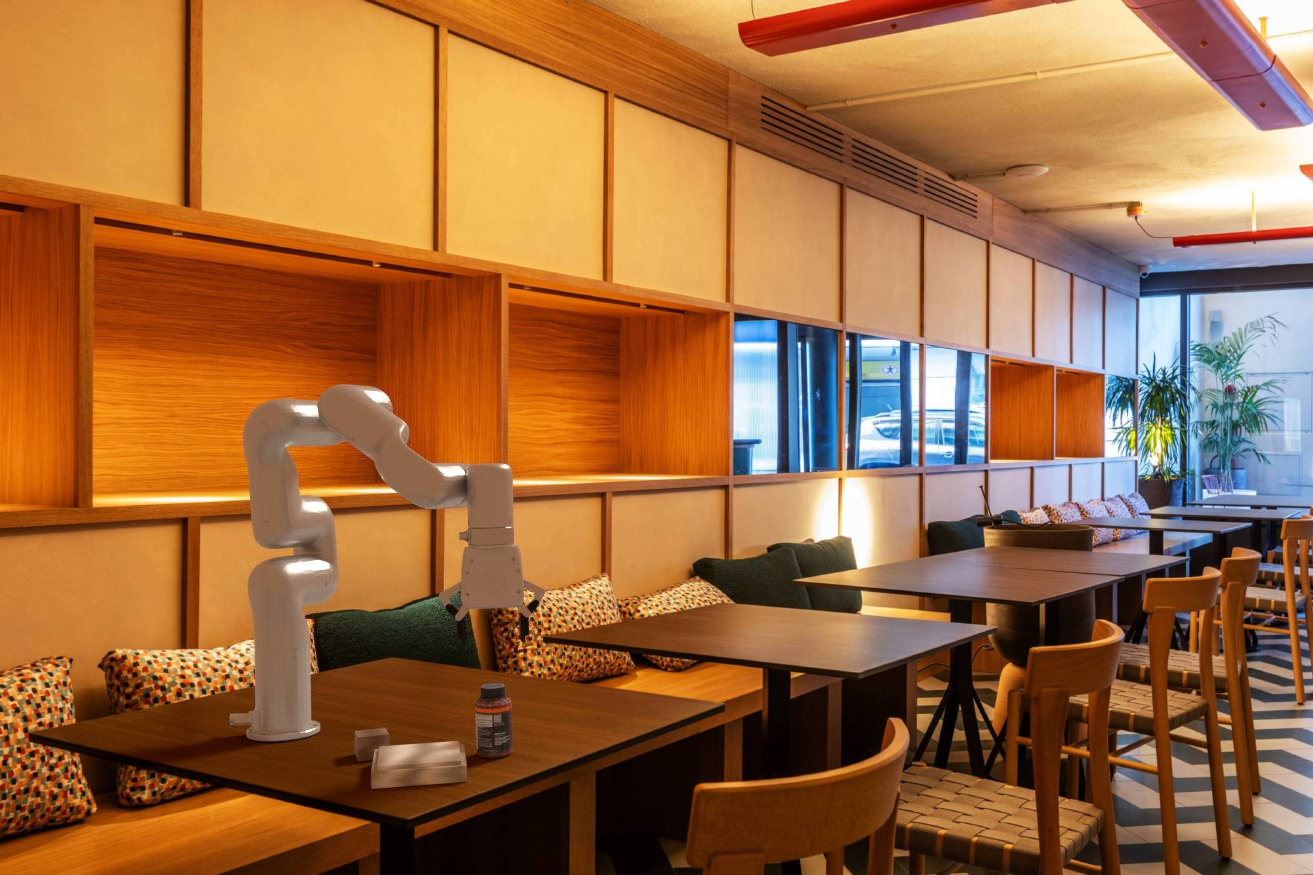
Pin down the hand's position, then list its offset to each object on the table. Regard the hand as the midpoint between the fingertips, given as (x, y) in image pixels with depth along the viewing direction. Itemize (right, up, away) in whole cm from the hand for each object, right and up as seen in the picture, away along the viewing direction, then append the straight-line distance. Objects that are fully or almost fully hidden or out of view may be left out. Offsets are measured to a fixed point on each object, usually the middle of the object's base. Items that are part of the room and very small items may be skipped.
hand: (493, 642), depth 188 cm
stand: (-10, -18, -11) cm, 23 cm away
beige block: (-20, -19, 0) cm, 28 cm away
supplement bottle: (0, -19, 0) cm, 19 cm away
